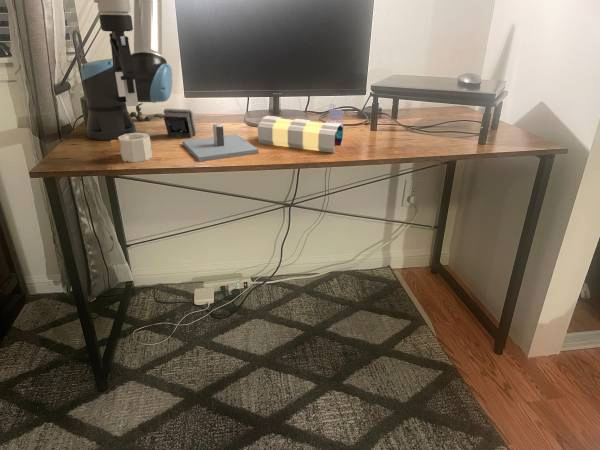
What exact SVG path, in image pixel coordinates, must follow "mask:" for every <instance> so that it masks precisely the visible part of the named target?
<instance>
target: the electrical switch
mask: <svg viewBox="0 0 600 450" xmlns="http://www.w3.org/2000/svg"><path fill="white" fill-rule="evenodd" d="M163 115H164V116H163V117H164V118H163V121H164V123H165V129H166V132H167V136H168V138H182V139H183V138H186V139H191V138H192V137H194V136H196V135H197V128H196V123H195V118H194V114H193V110H192V109H187V108H185V109H184V108H169V107H167V108H165V109H164V110H163Z"/></svg>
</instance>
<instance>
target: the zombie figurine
mask: <svg viewBox="0 0 600 450" xmlns="http://www.w3.org/2000/svg"><path fill="white" fill-rule="evenodd" d="M143 104H144V102H140V103H138V105H137V106H135V108H136V112H135V111H131V112H129V115H130V117H131V118H135V119H136V120H137V121H139V122H150V121H151V120H152V119H156V118H160V119H162V118H163V119H164V117H163V116H164V115H165V114H163V113H155V114H148V115H146V116H145V117H142V115H143V113H142V111H141V110H142V107H141V106H142V105H143Z"/></svg>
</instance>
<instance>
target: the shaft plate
mask: <svg viewBox="0 0 600 450" xmlns="http://www.w3.org/2000/svg"><path fill="white" fill-rule="evenodd" d="M212 129H213V136H211V137H204V138H203V137H202V138H193V139H187V140H182V142H181V143H182V146H183V147H185V148H186V149H187V150H188V152H189V153H191V155H192V156H194V157H195V158H196V160H197V161H198V162H205V161H206V160H207V161H213V160H220V159H226V158H227V159H229V158H234V157H240V156H248V155H253V154H254V155H255V154H259V148H257V147H255V146H254V145H253V144H251V143H250V142H248V141H247V140H246V139H244V138H243V137H242V136H240V135H238V134H237V133H236V134H228V135H225V133H224V131H225V130H224V124H221V123H217V124H213V125H212Z"/></svg>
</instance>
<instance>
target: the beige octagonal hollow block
mask: <svg viewBox="0 0 600 450" xmlns="http://www.w3.org/2000/svg"><path fill="white" fill-rule="evenodd" d="M150 137H151V136H150V135H149V134H148V133H142V132H136V133H129V134H124V135H122V136H119V137H118V139H115V140H110V143H111V144H110V145H111V148H112V150H115V149H119V150H120V158H121V159H122V161H123V162H127V161H128V163H138V162H139V163H140V162H147V160H150V159H152V158H153V152H152V144H151V143H152V142H151V138H150Z"/></svg>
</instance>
